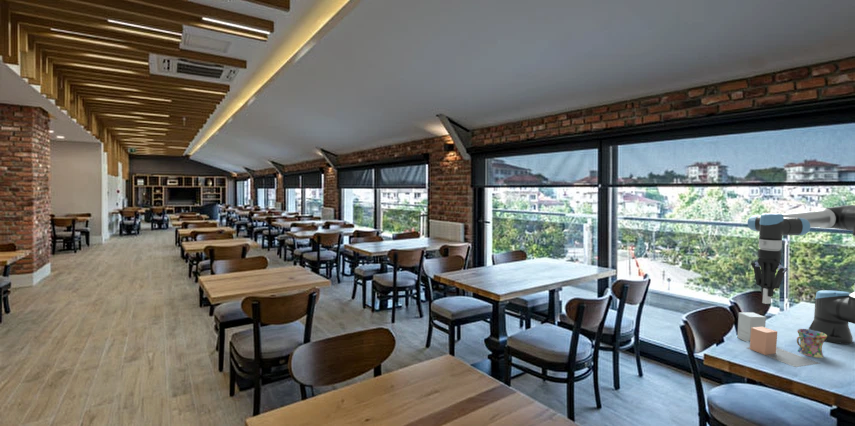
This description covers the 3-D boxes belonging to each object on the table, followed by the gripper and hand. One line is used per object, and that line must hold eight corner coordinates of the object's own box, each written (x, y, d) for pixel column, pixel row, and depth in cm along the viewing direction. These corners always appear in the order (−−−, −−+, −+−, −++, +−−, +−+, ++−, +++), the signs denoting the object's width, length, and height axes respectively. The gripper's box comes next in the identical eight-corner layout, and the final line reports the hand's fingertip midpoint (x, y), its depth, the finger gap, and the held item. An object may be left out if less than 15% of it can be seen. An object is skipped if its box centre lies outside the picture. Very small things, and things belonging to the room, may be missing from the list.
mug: (806, 351, 174) (808, 328, 173) (831, 360, 165) (833, 336, 164) (784, 353, 172) (786, 329, 171) (808, 362, 163) (810, 337, 162)
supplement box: (764, 343, 183) (766, 317, 182) (748, 343, 183) (750, 317, 182) (752, 337, 190) (753, 312, 189) (736, 337, 190) (738, 311, 189)
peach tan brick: (760, 347, 174) (761, 326, 174) (775, 353, 168) (777, 331, 168) (749, 348, 173) (751, 327, 172) (764, 354, 167) (766, 332, 166)
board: (769, 348, 178) (769, 344, 178) (820, 366, 159) (820, 363, 159) (745, 351, 174) (745, 347, 174) (794, 370, 156) (795, 366, 156)
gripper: (747, 247, 174) (744, 299, 176) (780, 252, 162) (777, 308, 163) (759, 246, 176) (757, 298, 178) (793, 251, 164) (790, 306, 165)
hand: (766, 303), depth 171 cm, fingers closed
